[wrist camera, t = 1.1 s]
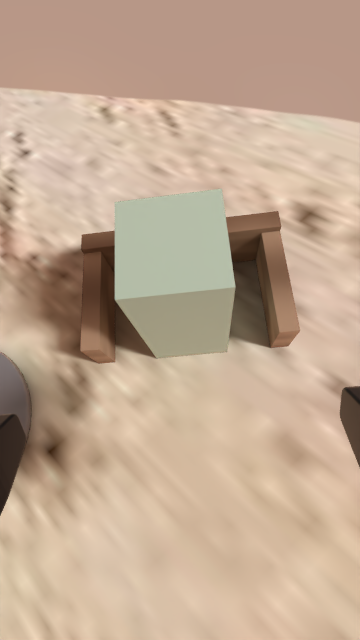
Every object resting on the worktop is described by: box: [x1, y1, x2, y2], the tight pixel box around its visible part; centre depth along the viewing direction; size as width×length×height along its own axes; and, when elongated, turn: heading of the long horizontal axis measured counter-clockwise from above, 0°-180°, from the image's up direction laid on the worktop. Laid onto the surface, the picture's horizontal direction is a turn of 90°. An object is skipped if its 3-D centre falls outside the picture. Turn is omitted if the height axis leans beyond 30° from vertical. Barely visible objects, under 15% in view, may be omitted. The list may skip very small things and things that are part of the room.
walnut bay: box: [80, 211, 300, 363], centre depth 23 cm, size 8×13×4 cm, turn 94°
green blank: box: [115, 189, 235, 358], centre depth 19 cm, size 5×5×10 cm
